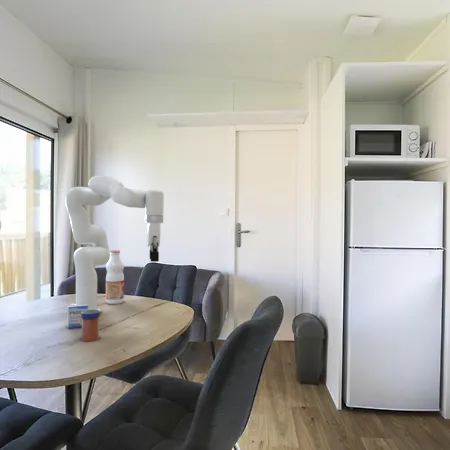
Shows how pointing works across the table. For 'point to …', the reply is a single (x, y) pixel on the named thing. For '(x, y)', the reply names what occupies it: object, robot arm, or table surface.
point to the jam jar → (90, 329)
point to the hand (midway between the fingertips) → (154, 260)
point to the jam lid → (90, 314)
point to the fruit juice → (114, 279)
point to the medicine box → (75, 315)
